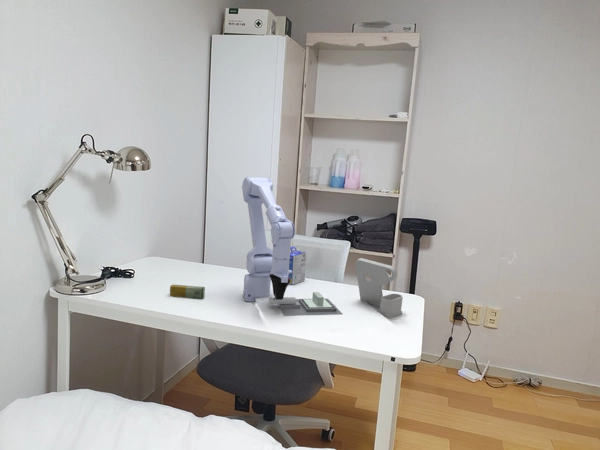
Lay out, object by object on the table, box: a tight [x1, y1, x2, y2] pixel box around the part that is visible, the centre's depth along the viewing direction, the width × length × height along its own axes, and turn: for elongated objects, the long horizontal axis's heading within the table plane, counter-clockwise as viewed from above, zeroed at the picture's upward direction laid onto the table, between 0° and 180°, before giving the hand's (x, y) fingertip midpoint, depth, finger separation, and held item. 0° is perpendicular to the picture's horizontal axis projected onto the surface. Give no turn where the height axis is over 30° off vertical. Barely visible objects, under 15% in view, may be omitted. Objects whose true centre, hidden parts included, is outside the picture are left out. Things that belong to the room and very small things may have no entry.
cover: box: [302, 291, 332, 309], centre depth 158 cm, size 8×8×4 cm
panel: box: [276, 298, 343, 317], centre depth 158 cm, size 20×16×3 cm
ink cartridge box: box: [288, 246, 307, 286], centre depth 191 cm, size 10×6×14 cm, turn 148°
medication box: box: [169, 284, 206, 300], centre depth 163 cm, size 12×3×4 cm, turn 87°
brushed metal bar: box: [268, 295, 297, 305], centre depth 155 cm, size 9×2×4 cm, turn 105°
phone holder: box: [355, 257, 403, 319], centre depth 164 cm, size 17×10×18 cm, turn 46°
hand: (278, 297), depth 154 cm, fingers open, 3 cm apart
